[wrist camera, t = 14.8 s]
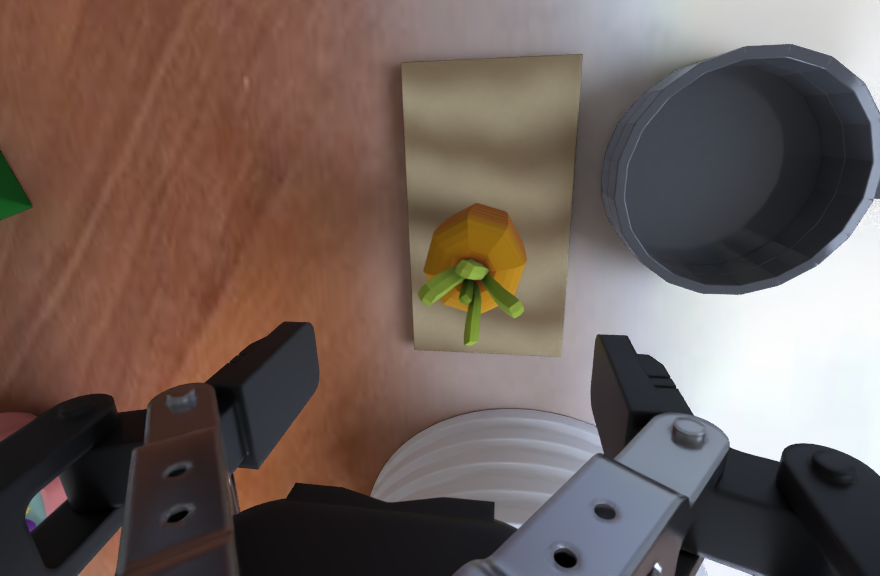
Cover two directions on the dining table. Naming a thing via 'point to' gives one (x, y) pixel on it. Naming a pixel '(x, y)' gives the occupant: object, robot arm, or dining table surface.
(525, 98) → the board
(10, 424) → the cell model
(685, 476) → the robot arm
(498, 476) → the plate stack
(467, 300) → the carrot
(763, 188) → the pan
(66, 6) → the dining table surface
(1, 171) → the milk carton
